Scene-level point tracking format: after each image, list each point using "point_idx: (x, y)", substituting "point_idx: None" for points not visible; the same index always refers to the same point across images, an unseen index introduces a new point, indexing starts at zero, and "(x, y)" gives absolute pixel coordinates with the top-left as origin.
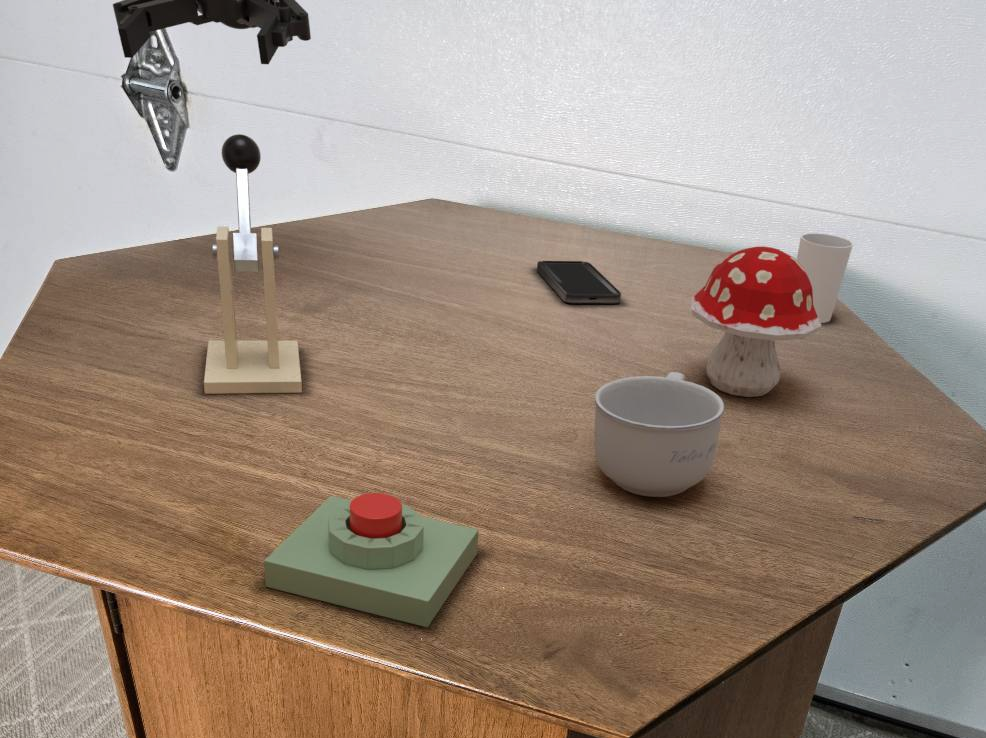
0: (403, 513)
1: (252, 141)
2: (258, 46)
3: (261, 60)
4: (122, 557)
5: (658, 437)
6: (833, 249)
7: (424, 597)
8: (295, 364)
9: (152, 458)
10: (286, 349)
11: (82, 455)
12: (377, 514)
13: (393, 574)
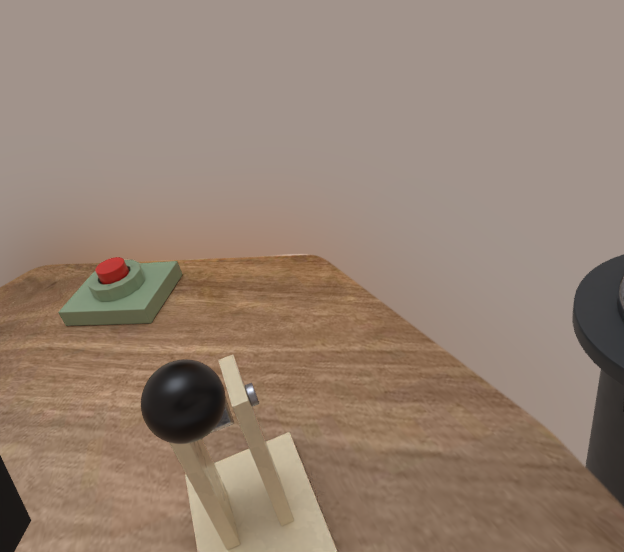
0: (97, 283)
1: (147, 383)
2: (1, 460)
3: (20, 509)
4: (260, 267)
5: None
6: None
7: None
8: (197, 517)
9: (288, 337)
10: None
11: (339, 323)
12: (109, 260)
13: None
